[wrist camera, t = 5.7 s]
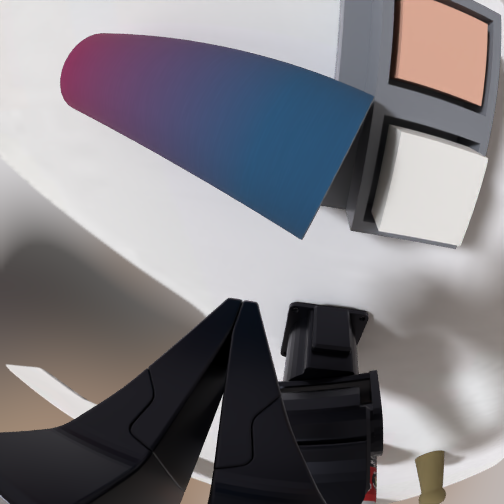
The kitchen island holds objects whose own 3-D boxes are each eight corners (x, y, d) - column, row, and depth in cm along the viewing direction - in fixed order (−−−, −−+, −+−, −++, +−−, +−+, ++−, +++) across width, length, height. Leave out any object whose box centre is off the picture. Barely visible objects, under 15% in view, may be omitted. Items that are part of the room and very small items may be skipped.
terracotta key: (462, 101, 11) (481, 106, 9) (386, 77, 12) (398, 77, 10) (469, 27, 9) (487, 24, 7) (392, 0, 9) (403, -10, 8)
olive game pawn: (409, 461, 41) (410, 510, 32) (433, 449, 38) (437, 501, 29) (426, 462, 42) (428, 508, 32) (449, 451, 38) (454, 499, 29)
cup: (129, 5, 12) (384, 75, 10) (136, 88, 18) (336, 173, 16) (34, 52, 9) (346, 155, 7) (64, 144, 15) (287, 266, 13)
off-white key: (446, 226, 13) (460, 246, 12) (371, 211, 14) (378, 231, 12) (468, 147, 11) (488, 158, 9) (389, 123, 12) (401, 131, 10)
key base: (444, 213, 18) (474, 252, 13) (320, 190, 19) (322, 226, 14) (477, 32, 10) (521, 27, 6) (340, -11, 12) (351, -40, 7)
